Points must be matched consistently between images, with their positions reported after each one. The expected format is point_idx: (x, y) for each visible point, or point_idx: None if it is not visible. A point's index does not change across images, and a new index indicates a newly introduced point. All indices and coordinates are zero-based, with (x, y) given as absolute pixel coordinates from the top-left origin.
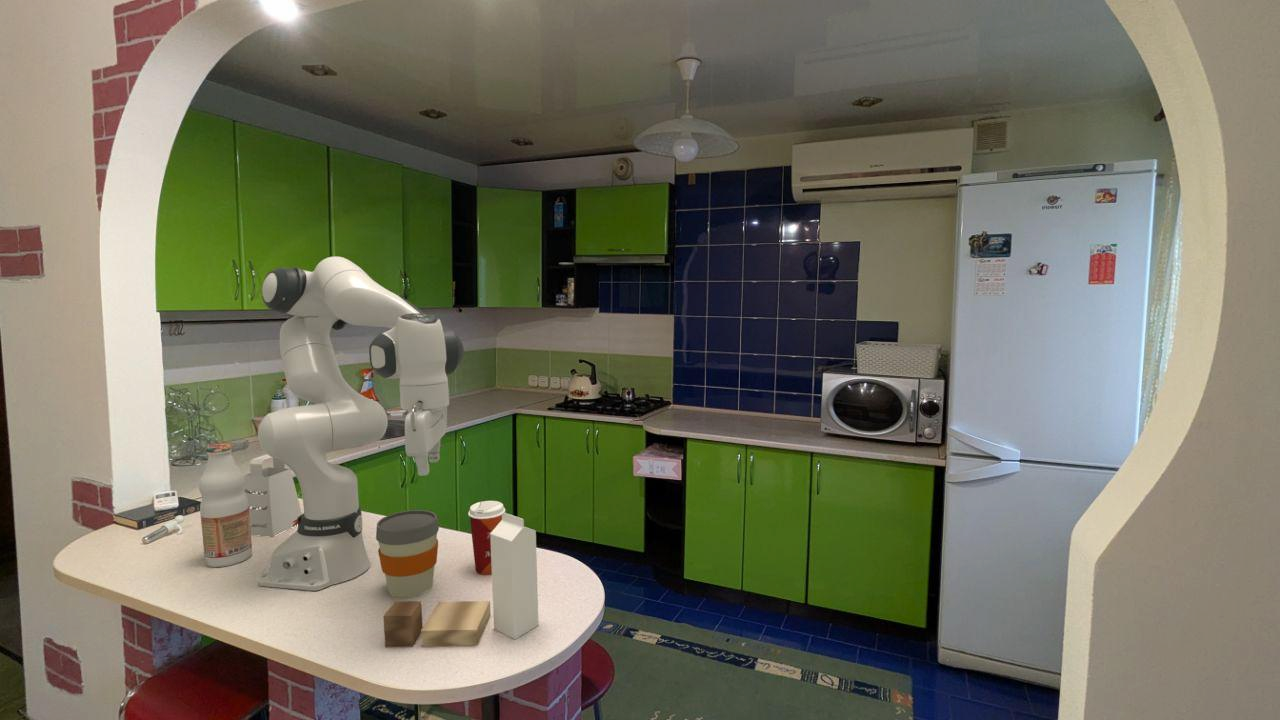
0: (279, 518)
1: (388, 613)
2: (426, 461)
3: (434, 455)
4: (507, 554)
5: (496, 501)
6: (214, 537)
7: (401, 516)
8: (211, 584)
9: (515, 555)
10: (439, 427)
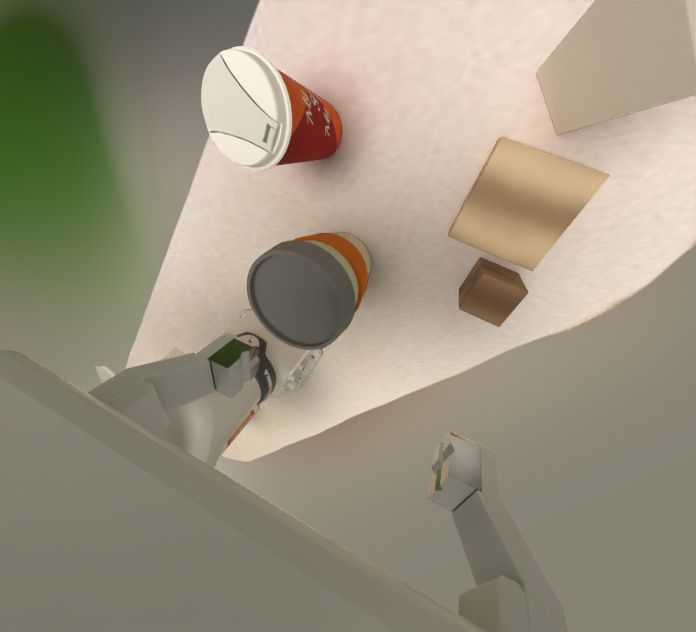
0: None
1: (495, 320)
2: (536, 561)
3: (235, 373)
4: None
5: (206, 75)
6: (241, 428)
7: (263, 306)
8: (287, 411)
9: None
10: (24, 579)
